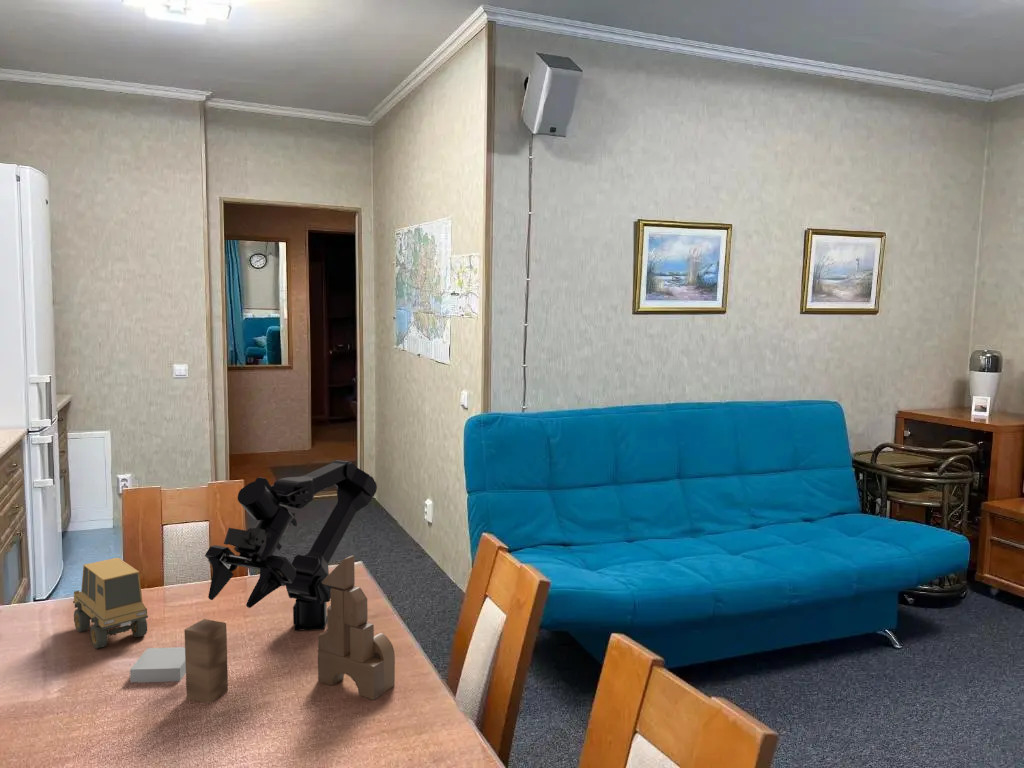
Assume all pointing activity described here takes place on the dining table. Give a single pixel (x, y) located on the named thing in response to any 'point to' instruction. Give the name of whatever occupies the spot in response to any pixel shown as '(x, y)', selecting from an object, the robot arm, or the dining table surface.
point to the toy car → (110, 601)
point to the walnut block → (206, 660)
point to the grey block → (159, 665)
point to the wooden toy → (353, 639)
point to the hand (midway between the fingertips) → (228, 602)
